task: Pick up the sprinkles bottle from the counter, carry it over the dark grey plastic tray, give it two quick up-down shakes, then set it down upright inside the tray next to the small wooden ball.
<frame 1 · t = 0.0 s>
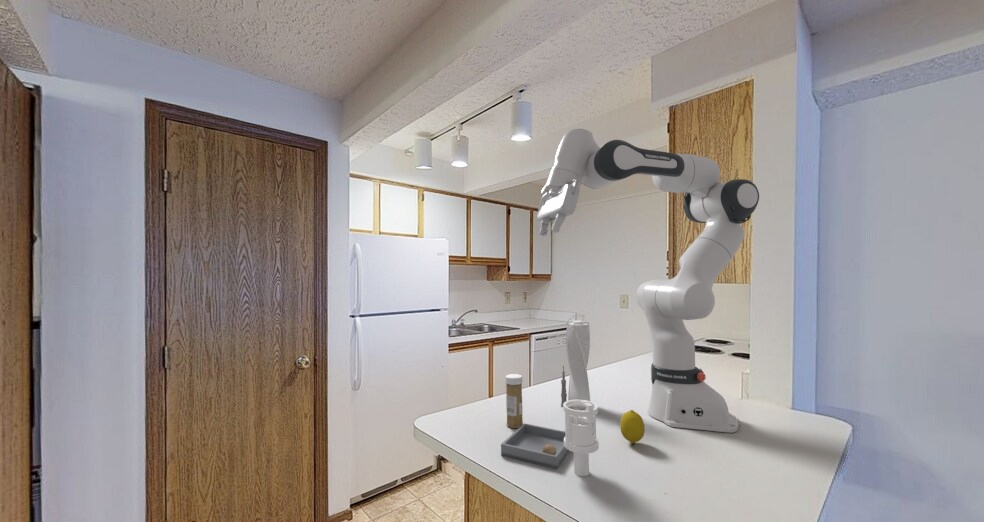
hand: (548, 233, 103), 52 cm above the counter, tool tilted 20°, fingers open, 8 cm apart
tray: (538, 449, 90), on the counter
skyscraper: (578, 406, 119), on the counter
lemon: (632, 444, 92), on the counter
sprinkles bottle: (514, 426, 104), on the counter
white hollow mechanical part: (581, 473, 79), on the counter
wooden ball: (549, 451, 84), point 2 cm above the counter, touching tray
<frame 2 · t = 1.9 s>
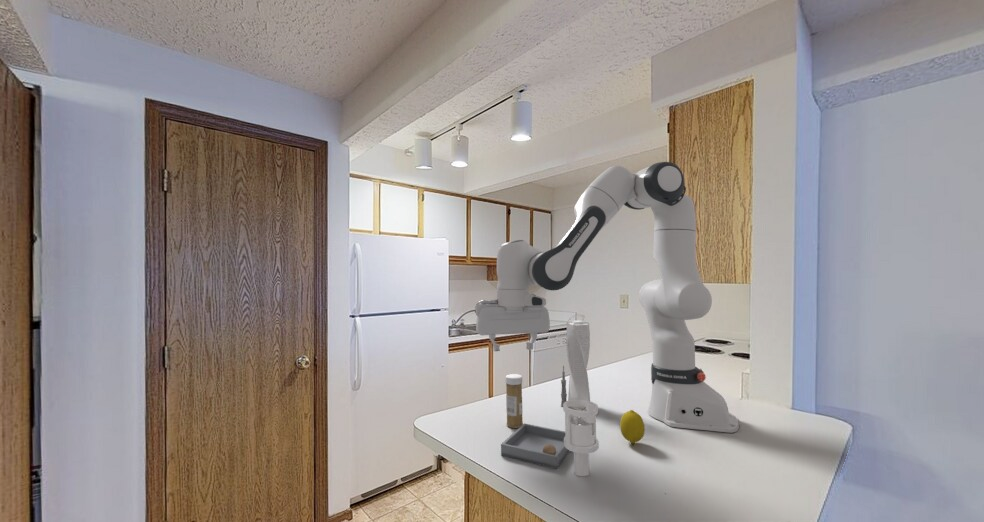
hand: (513, 350, 104), 20 cm above the counter, tool pointing down, fingers open, 8 cm apart
nothing on the counter moved.
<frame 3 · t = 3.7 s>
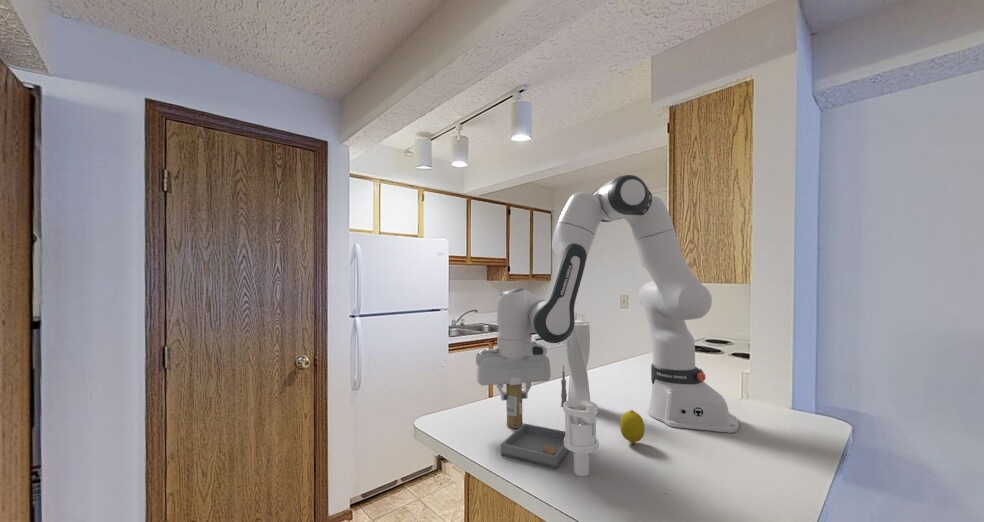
hand: (514, 398, 104), 7 cm above the counter, tool pointing down, fingers closed on sprinkles bottle, 4 cm apart
sprinkles bottle: (514, 426, 104), on the counter, touching gripper
everything else where it was.
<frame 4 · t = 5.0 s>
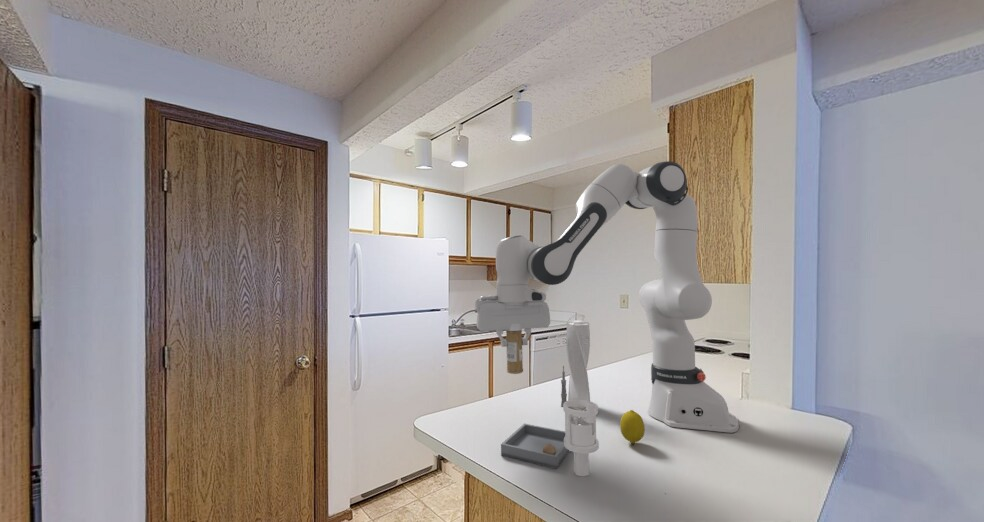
hand: (514, 345, 104), 22 cm above the counter, tool pointing down, fingers closed on sprinkles bottle, 4 cm apart
sprinkles bottle: (514, 372, 104), point 14 cm above the counter, touching gripper
everything else where it was.
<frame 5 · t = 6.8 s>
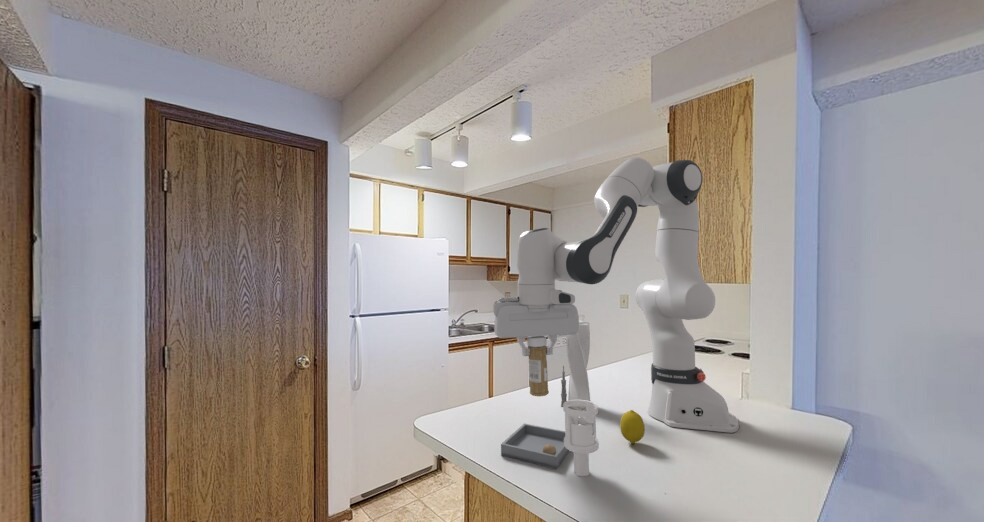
hand: (537, 354, 90), 22 cm above the counter, tool pointing down, fingers closed on sprinkles bottle, 4 cm apart
sprinkles bottle: (539, 394, 90), point 13 cm above the counter, touching gripper
everything else where it was.
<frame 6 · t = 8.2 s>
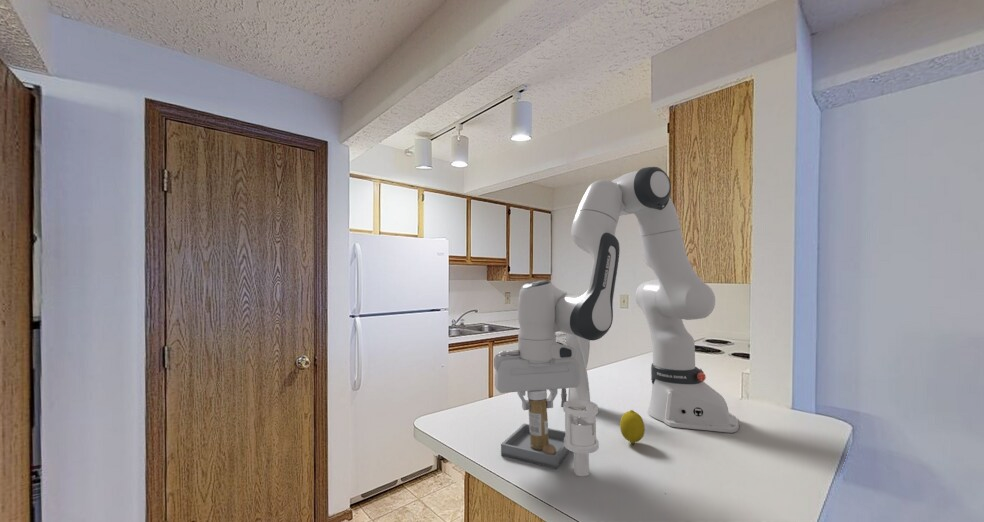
hand: (537, 408, 90), 10 cm above the counter, tool pointing down, fingers closed on sprinkles bottle, 4 cm apart
sprinkles bottle: (539, 446, 90), resting on tray, touching gripper
everything else where it was.
when the fingers open (9 cm above the counter, at t = 8.4 s): sprinkles bottle stays where it is, resting on tray.
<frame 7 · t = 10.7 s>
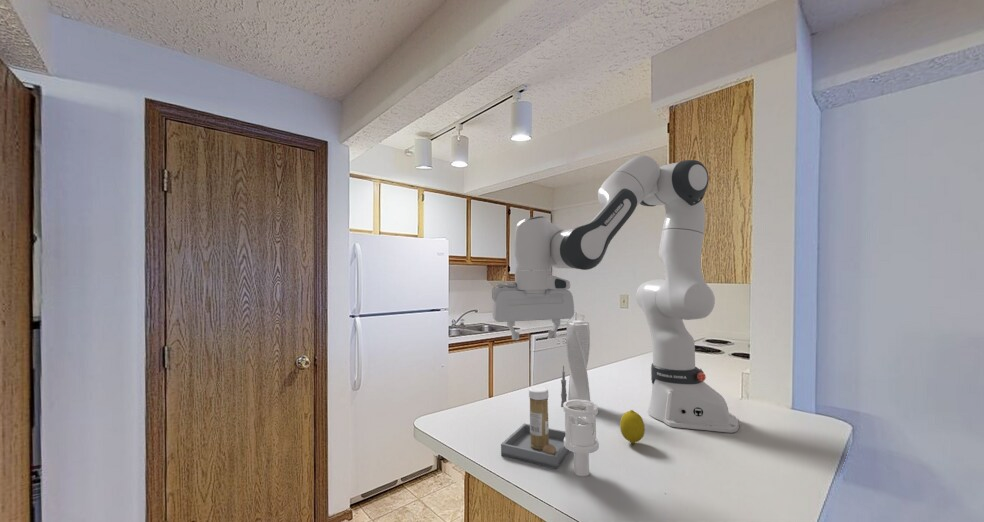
hand: (534, 338, 94), 25 cm above the counter, tool pointing down, fingers open, 8 cm apart
sprinkles bottle: (539, 447, 90), resting on tray
everything else where it was.
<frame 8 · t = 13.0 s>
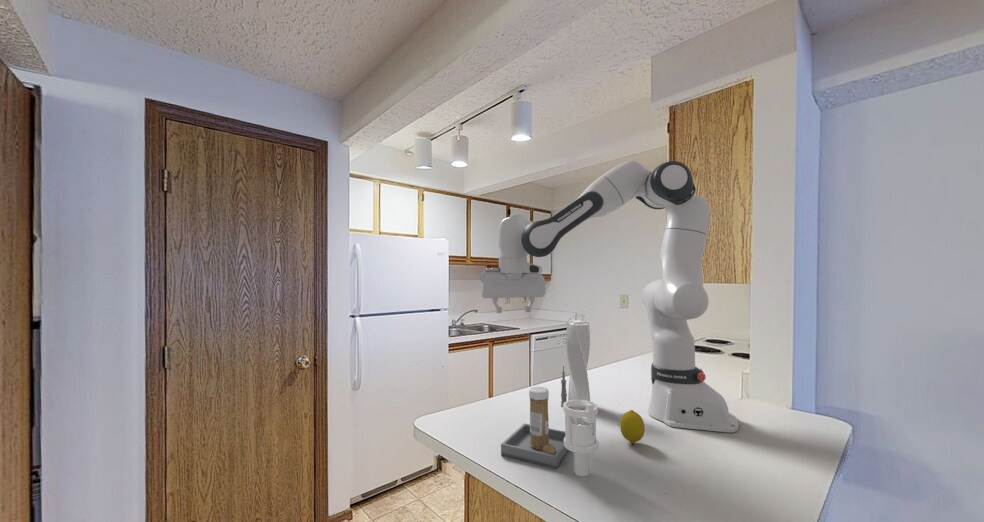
hand: (513, 312, 119), 29 cm above the counter, tool pointing down, fingers open, 8 cm apart
nothing on the counter moved.
at the end: sprinkles bottle inside the target area on the tray (0.2 cm from its centre), point 0.4 cm above the tray's base; sprinkles bottle tilted 0°; the gripper is holding nothing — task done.
